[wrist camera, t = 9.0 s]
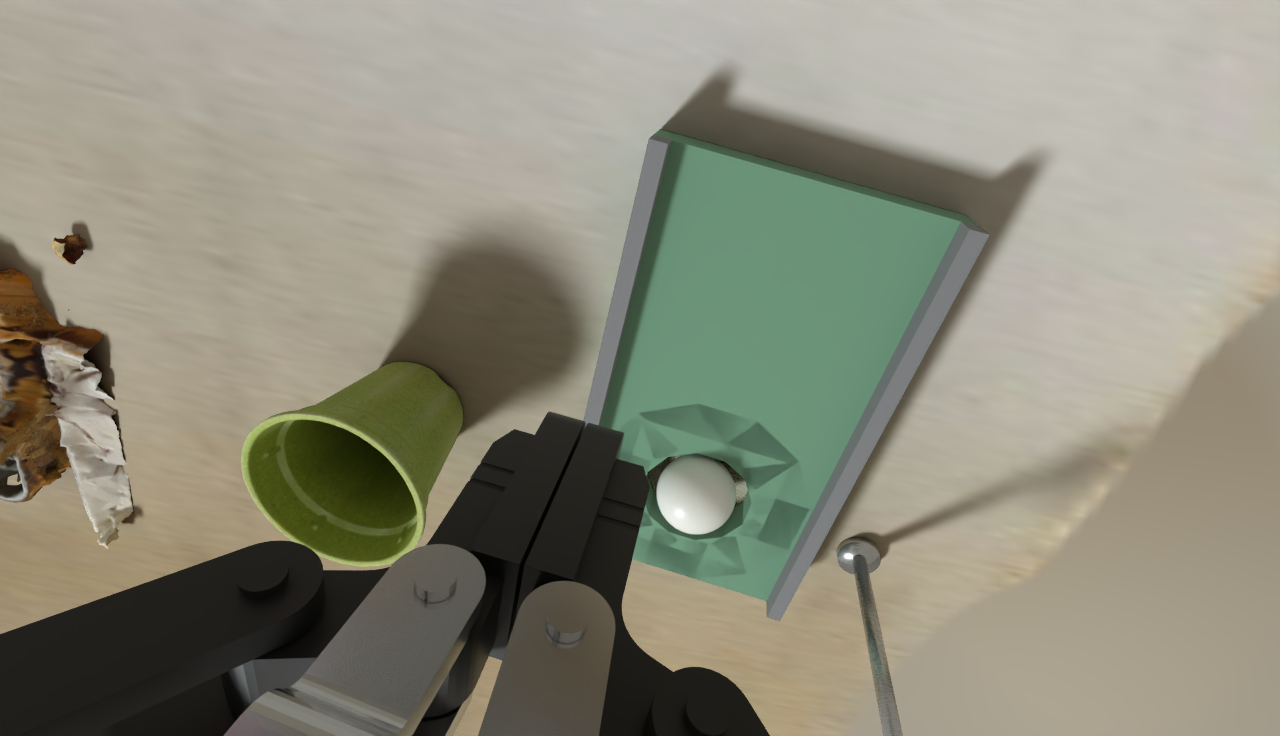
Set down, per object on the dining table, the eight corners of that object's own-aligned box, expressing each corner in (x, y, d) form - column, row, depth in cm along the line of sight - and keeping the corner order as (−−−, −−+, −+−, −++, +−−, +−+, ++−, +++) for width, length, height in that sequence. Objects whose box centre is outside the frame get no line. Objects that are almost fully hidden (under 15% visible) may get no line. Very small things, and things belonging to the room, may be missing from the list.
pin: (846, 532, 36) (890, 783, 24) (885, 544, 36) (950, 802, 23) (818, 581, 38) (845, 835, 26) (855, 593, 38) (900, 853, 26)
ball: (656, 478, 37) (673, 428, 34) (726, 499, 37) (748, 450, 34) (642, 537, 33) (659, 485, 31) (719, 560, 33) (743, 510, 30)
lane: (660, 129, 27) (648, 138, 24) (965, 215, 27) (989, 234, 24) (568, 514, 39) (553, 550, 36) (778, 579, 38) (779, 621, 36)
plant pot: (482, 340, 34) (402, 424, 26) (499, 474, 38) (435, 579, 31) (330, 328, 35) (214, 404, 28) (364, 458, 40) (272, 555, 32)
